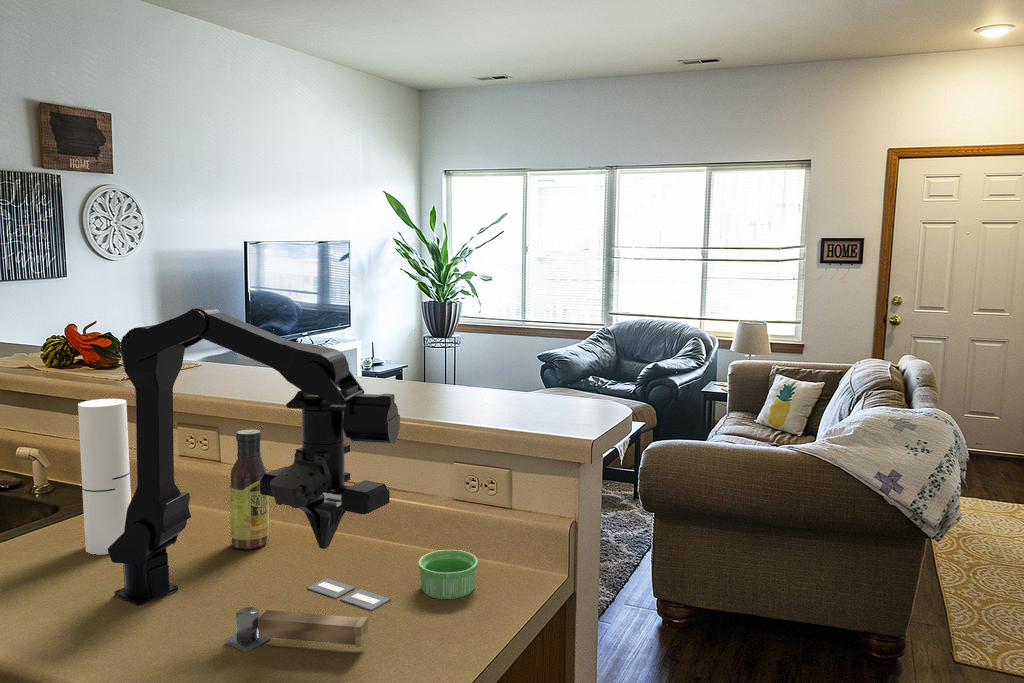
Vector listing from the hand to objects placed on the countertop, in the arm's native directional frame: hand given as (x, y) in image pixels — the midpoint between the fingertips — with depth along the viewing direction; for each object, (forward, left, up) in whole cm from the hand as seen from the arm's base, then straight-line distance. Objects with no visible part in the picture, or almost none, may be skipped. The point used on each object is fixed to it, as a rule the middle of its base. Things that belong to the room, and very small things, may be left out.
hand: (324, 547), depth 106 cm
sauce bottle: (-28, +10, -9) cm, 31 cm away
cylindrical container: (-47, -4, -9) cm, 48 cm away
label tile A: (-4, +5, -9) cm, 11 cm away
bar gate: (+7, -9, -7) cm, 13 cm away
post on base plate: (-1, -12, -9) cm, 15 cm away
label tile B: (+3, +5, -9) cm, 10 cm away
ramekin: (+11, +15, -9) cm, 20 cm away
